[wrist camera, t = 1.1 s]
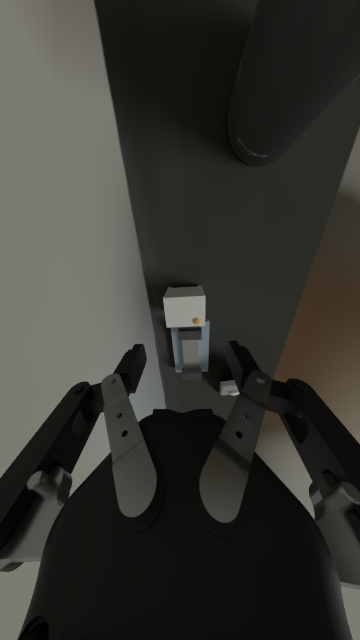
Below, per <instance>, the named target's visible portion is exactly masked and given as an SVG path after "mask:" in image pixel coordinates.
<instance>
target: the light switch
mask: <svg viewBox="0 0 360 640" xmlns="http://www.w3.org/2000/svg"><path fill="white" fill-rule="evenodd" d="M230 394H231V395H233V396H234V395H239V391H238V389H237V386H236V383H235V380H231V381H223V382H220V395H230Z"/></svg>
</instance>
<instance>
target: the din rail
mask: <svg viewBox="0 0 360 640" xmlns="http://www.w3.org/2000/svg"><path fill="white" fill-rule="evenodd" d="M178 334H179V340H182V347H183V359H184V368H182V378H183V380H197V379H202V371H201V368H199V340H202V329H201V327H199V326H193V327H181V328H179V330H178Z"/></svg>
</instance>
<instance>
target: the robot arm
mask: <svg viewBox="0 0 360 640" xmlns="http://www.w3.org/2000/svg"><path fill="white" fill-rule="evenodd" d="M359 76H360V0H258V4H257V7H256V11H255V14H254V18H253V21H252V25H251V28H250V32H249V35H248V39H247V42H246V46H245V48H244V52H243V55H242V59H241V62H240V66H239V69H238V73H237V76H236V80H235V84H234V87H233V91H232V94H231V98H230V103H229V107H228V117H227V127H228V135H229V141H230V144H231V146H232V149H233V151H234V152H235V154H236V155H237V157H238V158H239V159H240V160H242V161H243V162H244V163H246V164H249V165H253V166H260V165H265V164H268V163H270V162H272V161H274V160H275V159H276V158H278V157H279V156H281V155H282V154H283V153H284V152H285V151H286V150H287V148H288V147H289V146H290V145H291V144H292V143H293V142H294V141H295V140H296V139H297V138H298V137H299V136H300V135H301V134H302V133H303V132H304V131H305V130H307V129H308V128H309V127H310V126H311V125H312V124H313V123H314V122H315V120H316V119H317V118H318V117H319V116H320V115H321V114H322V113H323V112H324V111H325V110H326V109H327V108H328V107H329V106H330V105H331V104H332V103H333V102H334V101H335V100H336V99H337V98H338V97H339V96H340V95H341V94H342V93H343V92H344V91H345V90H346V89H347V88H348V87H349V86H350V85H351V84H352V83H353V82H354V81H355V80H356V79H357V78H358V77H359ZM226 358H227V362H228V364H229V367H230V370H231V372H232V375H233V378H234V380H235V383H236V386H237V389H238V391H239V395H238V397H237V399H236V402H235V404H234V406H233V408H232V410H231V412H230V414H229V417H228V419H227V421H226V420H224V419H223V418H221V417H219V416H217V415H214V414H213V412H212V409H196V410H192V411H189V412H185V413H179V412H176V411H172V410H169V409H154V410H153V414H152V415H149V416H147V417H145V418H143V419H142V420H141V421H139V422H137V419H136V416H135V413H134V411H133V408H132V406H131V403H130V400H129V395H130V393H135V392H136V389H137V386H138V383H139V381H140V378H141V375H142V372H143V370H144V367H145V364H146V359H147V357H146V353H145V348H144V345H143V344H135V345H134V346H133V348H132V350H128V352H126V353H125V355H124V356H123V358H122V359H121V362H120V363H119V364H118V366H117V368H116V369H115V371H114V373H113V374H111V375H109V376H107V377H106V378H104V379H103V381H102V382H101V383H98V384H95V385H91V386H90V384H89V383H88V382H80V383H78V384H76V385H75V386H73V387H72V388H71V389H70V390H69V391H68V393H67V394H66V395H65V396H64V398H63V399H62V400H61V402H60V403H59V404H58V405H57V407H56V408H55V409H54V411H53V412H52V413H51V414H50V416H49V417H48V418H47V419H46V421H45V422H44V423H43V424H42V426H41V427H40V429H39V430H38V431H37V432H36V433H35V435H34V436H33V437H32V439H31V440H30V441H29V442H28V444H27V445H26V446H25V448H24V449H23V450H22V451H21V453H20V454H19V455H18V456H17V458H16V459H15V460H14V462H13V463H12V464H11V465H10V467H9V468H8V469H7V470H6V472H5V473H4V474H3V476H2V477H1V478H0V571H3V572H10V571H13V570H15V569H16V568H18V567H19V566H20V565H21V564H22V563H23V562H30V561H41V563H40V568H39V573H38V577H37V582H36V586H35V589H34V593H33V596H32V599H31V603H30V606H29V609H28V612H27V615H26V618H25V621H24V624H23V627H22V629H21V632H20V635H19V637H18V639H17V640H353V639H352V636H351V633H350V629H349V625H348V621H347V617H346V613H345V608H344V604H343V598H342V593H341V586H344V587H349V588H354V589H359V590H360V444H359V443H358V442H357V441H356V439H355V438H354V437H353V436H352V435H351V434H350V433H349V431H348V430H347V429H346V428H345V426H344V425H343V424H342V423H341V422H340V421H339V419H338V418H337V417H336V416H335V415H334V414H333V412H332V411H331V410H330V409H329V407H327V405H326V404H325V403H324V402H323V400H322V399H321V398H320V397H319V396H318V394H317V393H316V392H315V391H314V390H313V389H312V388H311V386H310V385H308V384H307V383H305V382H304V381H301V380H299V379H294V378H293V379H292V378H291V379H288V380H287V382H286V383H284V382H280V381H276V380H273V379H271V377H270V376H269V375H267V374H266V373H264V372H262V371H261V370H260V368H259V367H258V365H257V364H256V362H255V360H254V359H253V357H252V356H251V354H250V352H249V351H248V349H246V348H245V347H244V346H239V344H238V342H237V341H228V342H227V352H226ZM265 410H268V411H271V412H275V413H278V414H279V416H280V418H281V420H282V422H283V424H284V426H285V428H286V430H287V432H288V434H289V436H290V438H291V440H292V441H293V444H294V446H295V447H296V449H297V451H298V453H299V455H300V457H301V459H302V461H303V463H304V465H305V467H306V469H307V471H308V473H309V475H310V477H311V479H312V481H313V482H312V483H311V485H310V487H309V495H310V499H311V502H312V504H313V507H314V512H315V519H313V518H312V516H311V515H310V513H309V512H308V511H307V509H306V508H305V507H304V506H303V504H302V503H301V502H300V501H299V500H298V499H297V498H296V497H295V495H294V494H293V493H292V492H291V491H290V490H289V489H288V488H287V487H286V486H285V484H284V483H283V482H282V481H281V480H280V479H279V478H278V477H277V476H276V474H275V473H274V472H273V471H272V470H271V469H270V468H269V467H268V466H267V465H266V463H265V462H264V461H263V460H262V459H261V458H260V457H259V456H258V455H257V453H256V452H255V448H256V444H257V440H258V436H259V432H260V428H261V425H262V421H263V417H264V414H265ZM101 412H104V416H105V421H106V427H107V433H108V438H109V443H110V450H111V452H110V453H109V455H108V456H107V457H106V458H105V459H104V460H103V461H102V462H101V463H100V464H99V465H98V466H97V468H96V469H95V470H94V471H93V472H92V473H91V474H90V475H89V476H88V477H87V478H86V480H85V481H84V482H83V483H82V484H81V485H80V486H79V487H78V488H77V489H76V490H75V492H74V493H73V494H72V495H71V496H70V497H69V494H70V493H69V492H70V489H71V486H72V477H71V473H72V471H73V469H74V467H75V465H76V463H77V461H78V459H79V456H80V454H81V452H82V450H83V448H84V446H85V444H86V442H87V440H88V437H89V436H90V433H91V431H92V429H93V427H94V425H95V423H96V421H97V419H98V417H99V415H100V413H101ZM77 415H78V416H77ZM74 420H75V421H74ZM68 498H69V499H68Z"/></svg>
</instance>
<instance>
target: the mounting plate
mask: <svg viewBox="0 0 360 640" xmlns="http://www.w3.org/2000/svg"><path fill="white" fill-rule="evenodd" d="M199 327H201V329H202V340H199V368H201V371H202V372H208V356H209V319H208V318H205V326H199ZM179 328H181V327H171V335H172V343H173V351H174V360H175V368H176V372H182V368H184V359H183V347H182V340H179V334H178V330H179Z"/></svg>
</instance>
